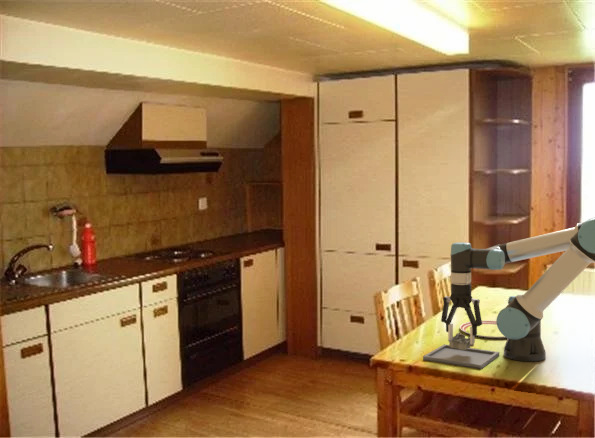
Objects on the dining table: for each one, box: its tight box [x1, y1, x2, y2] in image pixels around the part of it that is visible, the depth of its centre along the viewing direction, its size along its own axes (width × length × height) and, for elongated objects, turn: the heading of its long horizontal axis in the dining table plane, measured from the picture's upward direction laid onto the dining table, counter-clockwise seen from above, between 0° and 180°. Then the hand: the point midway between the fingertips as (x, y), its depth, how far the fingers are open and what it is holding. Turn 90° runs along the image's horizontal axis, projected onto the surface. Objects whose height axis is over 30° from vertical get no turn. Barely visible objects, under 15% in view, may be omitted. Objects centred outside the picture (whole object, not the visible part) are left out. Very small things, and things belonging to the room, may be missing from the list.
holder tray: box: [422, 344, 500, 370], centre depth 238 cm, size 22×20×2 cm
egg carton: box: [448, 332, 475, 350], centre depth 239 cm, size 11×8×4 cm
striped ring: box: [459, 320, 507, 339], centre depth 274 cm, size 28×27×3 cm
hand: (461, 342), depth 238 cm, fingers closed on egg carton, 8 cm apart
